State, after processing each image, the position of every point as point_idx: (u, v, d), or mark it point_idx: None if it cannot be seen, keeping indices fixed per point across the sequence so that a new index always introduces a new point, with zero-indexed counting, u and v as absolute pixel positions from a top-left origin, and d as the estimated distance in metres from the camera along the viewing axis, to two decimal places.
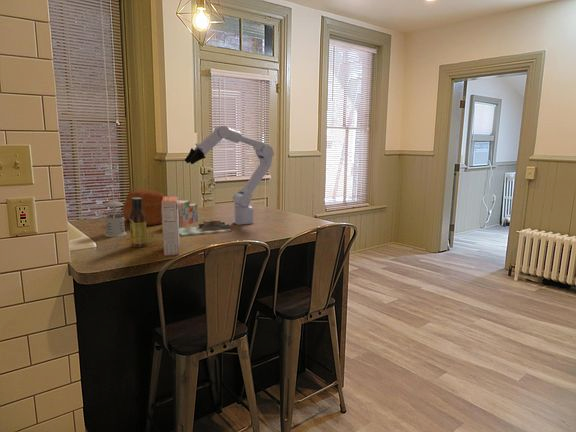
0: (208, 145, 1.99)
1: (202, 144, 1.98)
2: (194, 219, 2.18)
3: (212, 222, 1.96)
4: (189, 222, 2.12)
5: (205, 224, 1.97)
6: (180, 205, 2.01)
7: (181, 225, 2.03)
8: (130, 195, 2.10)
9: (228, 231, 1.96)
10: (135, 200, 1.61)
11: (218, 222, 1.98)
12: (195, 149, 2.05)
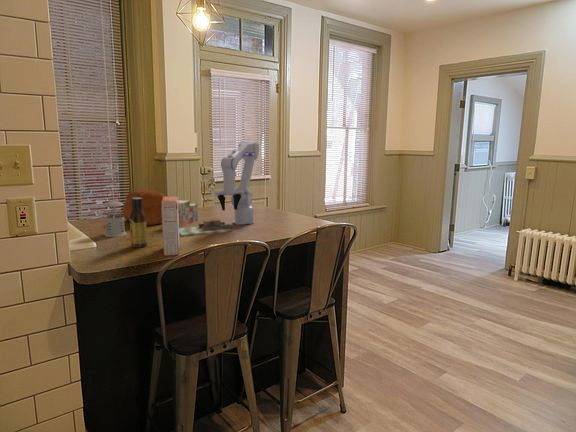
0: None
1: (234, 188, 1.99)
2: (194, 219, 2.18)
3: (212, 222, 1.96)
4: (189, 222, 2.13)
5: (205, 224, 1.97)
6: (180, 205, 2.01)
7: (181, 225, 2.04)
8: (130, 195, 2.10)
9: (228, 231, 1.96)
10: (135, 200, 1.61)
11: (218, 222, 1.98)
12: (217, 194, 1.97)
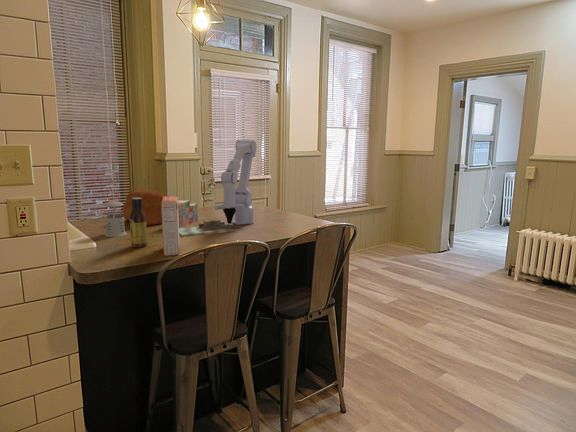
0: None
1: (234, 202, 2.00)
2: (194, 219, 2.18)
3: (212, 222, 1.96)
4: (189, 222, 2.13)
5: (205, 224, 1.97)
6: (180, 205, 2.01)
7: (181, 225, 2.04)
8: (130, 195, 2.10)
9: (228, 231, 1.96)
10: (135, 200, 1.61)
11: (218, 222, 1.98)
12: (218, 208, 1.98)
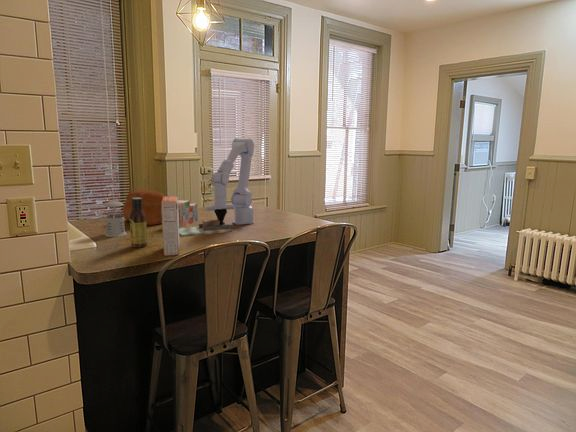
0: None
1: (225, 203, 1.98)
2: (194, 219, 2.18)
3: (211, 222, 1.96)
4: (189, 222, 2.13)
5: (204, 224, 1.96)
6: (180, 205, 2.01)
7: (181, 225, 2.04)
8: (130, 195, 2.10)
9: (228, 231, 1.96)
10: (135, 200, 1.61)
11: (217, 222, 1.98)
12: (208, 209, 1.96)
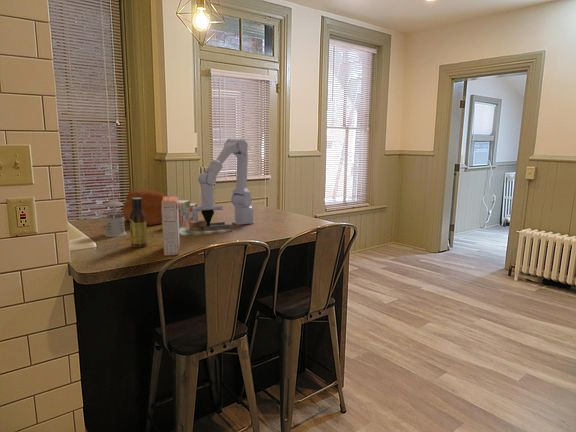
0: None
1: (212, 204, 1.95)
2: (194, 219, 2.19)
3: (197, 223, 1.93)
4: None
5: (191, 225, 1.93)
6: (180, 205, 2.02)
7: (181, 225, 2.04)
8: (130, 195, 2.10)
9: (228, 231, 1.96)
10: (135, 200, 1.61)
11: (204, 223, 1.95)
12: (195, 210, 1.93)
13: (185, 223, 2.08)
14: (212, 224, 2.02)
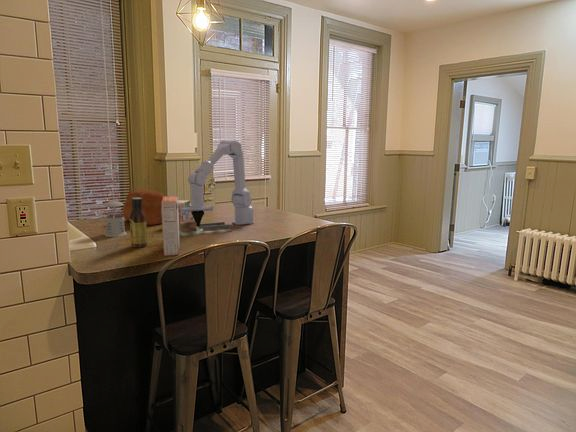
0: None
1: (202, 204, 1.93)
2: None
3: (187, 224, 1.91)
4: None
5: (180, 226, 1.91)
6: (181, 205, 2.02)
7: None
8: (130, 195, 2.10)
9: (228, 231, 1.96)
10: (135, 200, 1.61)
11: (194, 224, 1.92)
12: (185, 210, 1.91)
13: None
14: (212, 224, 2.02)
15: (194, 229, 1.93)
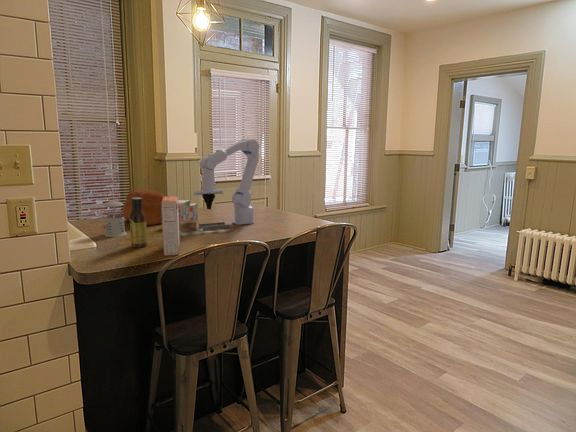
0: None
1: (213, 188, 2.01)
2: (194, 219, 2.19)
3: (187, 224, 1.91)
4: None
5: (180, 226, 1.91)
6: (181, 205, 2.02)
7: None
8: (130, 195, 2.10)
9: (228, 231, 1.96)
10: (135, 200, 1.61)
11: (194, 224, 1.92)
12: (196, 193, 1.99)
13: None
14: (212, 224, 2.02)
15: (194, 229, 1.93)
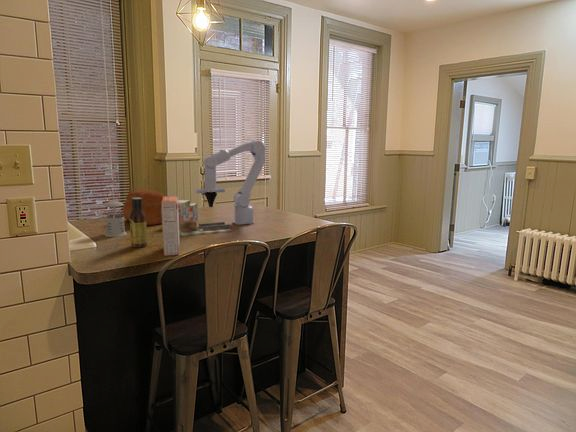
0: None
1: (215, 186, 2.07)
2: (194, 219, 2.19)
3: (187, 224, 1.91)
4: None
5: (180, 226, 1.91)
6: (181, 205, 2.02)
7: None
8: (130, 195, 2.10)
9: (228, 231, 1.96)
10: (135, 200, 1.61)
11: (194, 224, 1.92)
12: (199, 191, 2.05)
13: None
14: (212, 224, 2.02)
15: (194, 229, 1.93)
